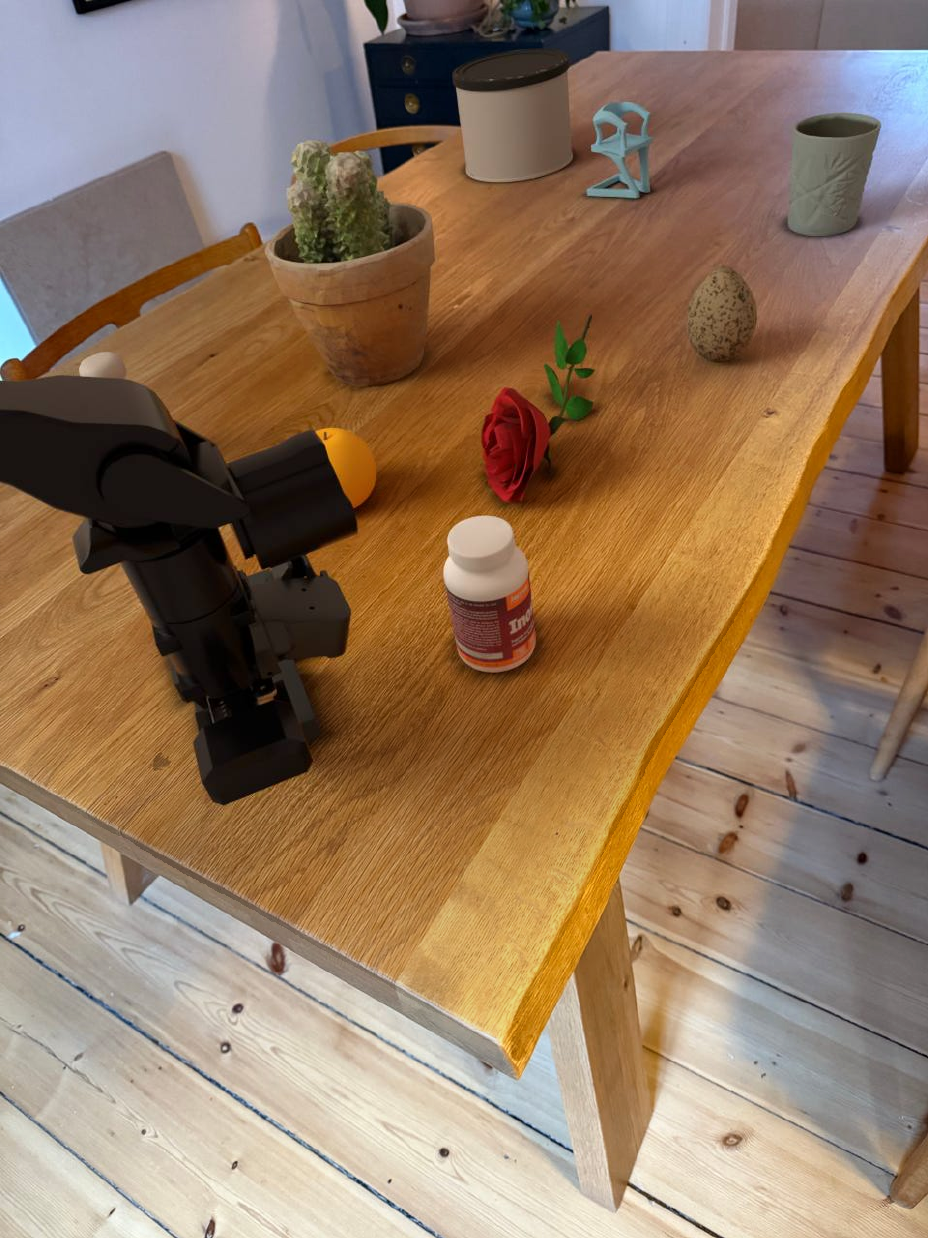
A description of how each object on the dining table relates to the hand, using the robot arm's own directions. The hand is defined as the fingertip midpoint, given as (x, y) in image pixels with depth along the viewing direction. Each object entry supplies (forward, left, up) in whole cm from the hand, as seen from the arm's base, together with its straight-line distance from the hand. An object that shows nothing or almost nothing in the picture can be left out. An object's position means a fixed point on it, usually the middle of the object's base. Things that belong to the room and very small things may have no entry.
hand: (267, 754), depth 63 cm
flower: (+36, +29, -1) cm, 46 cm away
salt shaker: (-3, +47, -1) cm, 47 cm away
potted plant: (+26, +54, -1) cm, 60 cm away
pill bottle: (+19, +3, -1) cm, 19 cm away
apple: (+14, +29, -1) cm, 32 cm away
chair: (+76, +83, -1) cm, 112 cm away
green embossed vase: (+89, +53, -1) cm, 103 cm away
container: (+70, +108, -1) cm, 128 cm away
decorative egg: (+58, +31, -1) cm, 66 cm away
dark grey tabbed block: (0, +6, -1) cm, 6 cm away
